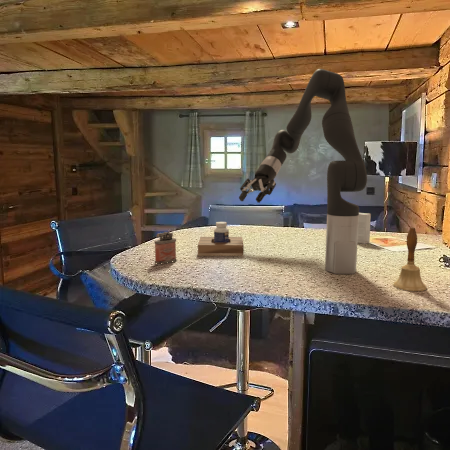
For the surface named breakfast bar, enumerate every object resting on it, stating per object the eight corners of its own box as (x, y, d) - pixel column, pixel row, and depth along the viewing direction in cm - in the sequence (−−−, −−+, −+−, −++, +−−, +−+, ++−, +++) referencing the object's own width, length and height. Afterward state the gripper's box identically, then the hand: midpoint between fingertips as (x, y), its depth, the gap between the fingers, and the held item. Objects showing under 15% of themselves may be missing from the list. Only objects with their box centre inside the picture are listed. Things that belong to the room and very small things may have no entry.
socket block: (243, 256, 150) (243, 245, 149) (197, 256, 150) (197, 244, 149) (241, 247, 166) (242, 236, 165) (200, 246, 166) (200, 236, 165)
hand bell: (393, 289, 112) (396, 229, 109) (392, 281, 119) (396, 224, 117) (427, 293, 109) (432, 231, 106) (425, 284, 117) (429, 226, 114)
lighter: (172, 259, 145) (171, 230, 144) (178, 261, 143) (178, 231, 141) (152, 263, 140) (151, 233, 138) (158, 265, 137) (158, 234, 136)
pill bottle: (227, 250, 155) (227, 223, 153) (212, 249, 156) (212, 223, 154) (229, 247, 160) (229, 221, 158) (215, 246, 161) (215, 221, 159)
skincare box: (369, 242, 175) (371, 213, 173) (365, 244, 172) (366, 214, 170) (355, 240, 179) (357, 212, 177) (351, 242, 176) (352, 213, 174)
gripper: (250, 163, 172) (230, 193, 166) (278, 163, 162) (258, 194, 156) (258, 176, 177) (239, 206, 170) (286, 177, 167) (267, 208, 160)
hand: (248, 200), depth 163 cm, fingers open, 8 cm apart
